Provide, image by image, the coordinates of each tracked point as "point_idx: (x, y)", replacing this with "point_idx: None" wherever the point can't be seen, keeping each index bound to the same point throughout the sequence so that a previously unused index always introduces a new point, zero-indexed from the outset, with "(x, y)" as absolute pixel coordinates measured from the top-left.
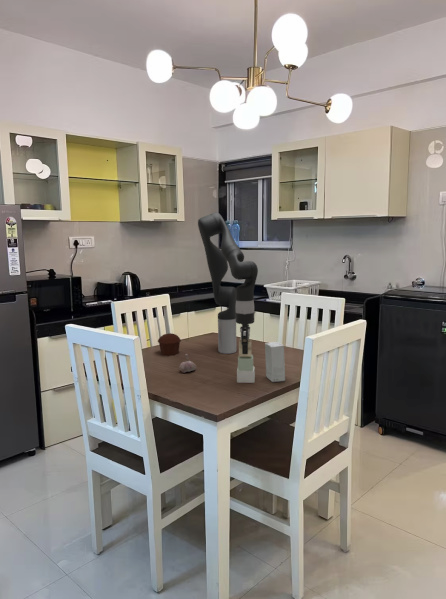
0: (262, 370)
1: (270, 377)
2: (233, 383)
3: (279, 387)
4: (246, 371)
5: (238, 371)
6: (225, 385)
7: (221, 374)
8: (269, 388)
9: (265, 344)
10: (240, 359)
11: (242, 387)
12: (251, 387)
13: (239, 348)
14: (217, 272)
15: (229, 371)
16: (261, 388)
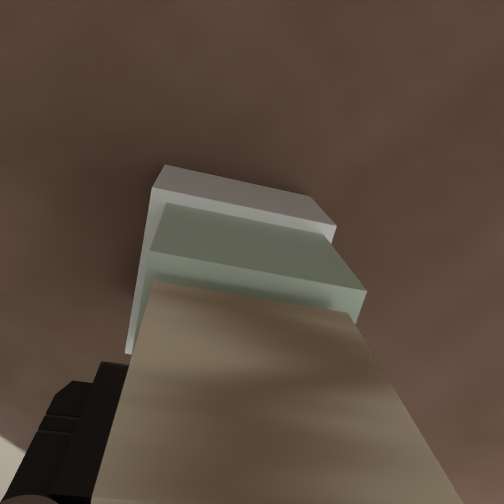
0: (414, 393)
1: None
2: (143, 128)
3: (24, 440)
4: (137, 283)
5: (150, 203)
6: (92, 40)
7: (422, 51)
8: (2, 380)
9: None
10: (146, 281)
11: (29, 191)
12: (28, 262)
13: (128, 372)
14: None
15: (481, 143)
16: (2, 329)
